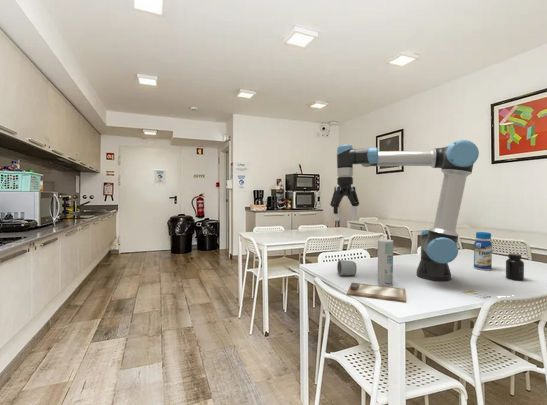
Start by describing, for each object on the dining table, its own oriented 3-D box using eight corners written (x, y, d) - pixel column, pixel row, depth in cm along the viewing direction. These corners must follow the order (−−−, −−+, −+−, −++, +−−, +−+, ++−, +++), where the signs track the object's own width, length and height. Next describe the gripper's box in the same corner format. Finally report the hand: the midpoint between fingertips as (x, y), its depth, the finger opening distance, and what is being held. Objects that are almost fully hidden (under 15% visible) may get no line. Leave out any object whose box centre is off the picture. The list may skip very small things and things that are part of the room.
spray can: (387, 287, 129) (388, 241, 129) (374, 283, 135) (375, 239, 134) (395, 284, 133) (396, 240, 133) (382, 281, 139) (383, 238, 138)
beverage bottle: (485, 267, 166) (486, 231, 165) (495, 271, 157) (496, 233, 157) (470, 266, 166) (470, 231, 166) (478, 270, 158) (479, 233, 157)
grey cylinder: (357, 277, 145) (357, 261, 145) (341, 277, 144) (341, 261, 144) (350, 271, 156) (350, 257, 155) (334, 271, 155) (335, 257, 155)
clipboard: (404, 290, 125) (404, 285, 125) (406, 302, 111) (406, 296, 111) (351, 284, 133) (351, 279, 133) (346, 294, 119) (346, 289, 119)
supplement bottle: (519, 277, 145) (520, 253, 144) (526, 281, 138) (527, 256, 138) (503, 276, 147) (503, 252, 147) (509, 280, 141) (509, 255, 140)
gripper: (353, 177, 156) (353, 217, 157) (322, 176, 140) (323, 221, 141) (366, 177, 151) (366, 218, 151) (335, 175, 135) (335, 221, 135)
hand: (345, 219), depth 146 cm, fingers open, 13 cm apart
